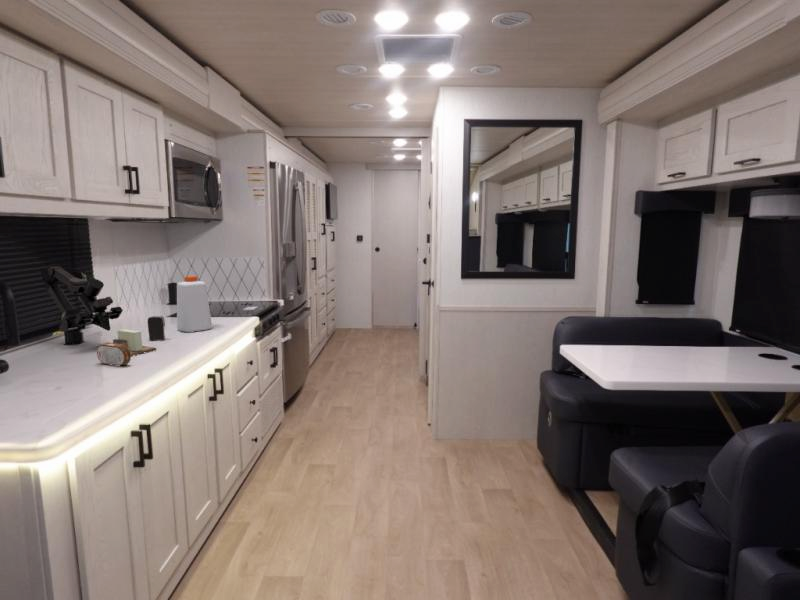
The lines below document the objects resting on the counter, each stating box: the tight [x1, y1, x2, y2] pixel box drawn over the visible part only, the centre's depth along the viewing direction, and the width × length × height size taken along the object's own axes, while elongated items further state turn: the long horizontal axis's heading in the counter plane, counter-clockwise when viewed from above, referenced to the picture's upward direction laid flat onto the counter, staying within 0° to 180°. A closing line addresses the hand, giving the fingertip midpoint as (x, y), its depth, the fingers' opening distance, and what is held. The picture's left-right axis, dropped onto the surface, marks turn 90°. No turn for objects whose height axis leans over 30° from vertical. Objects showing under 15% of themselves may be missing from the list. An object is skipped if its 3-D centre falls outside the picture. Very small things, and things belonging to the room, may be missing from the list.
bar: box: [117, 328, 143, 351], centre depth 206 cm, size 11×3×8 cm, turn 64°
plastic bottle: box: [176, 275, 213, 333], centre depth 252 cm, size 15×15×28 cm
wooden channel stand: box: [112, 338, 157, 357], centre depth 207 cm, size 16×14×6 cm
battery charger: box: [147, 315, 166, 341], centre depth 229 cm, size 7×4×11 cm, turn 99°
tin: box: [96, 342, 132, 366], centre depth 187 cm, size 15×3×8 cm, turn 71°
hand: (109, 329), depth 211 cm, fingers closed
